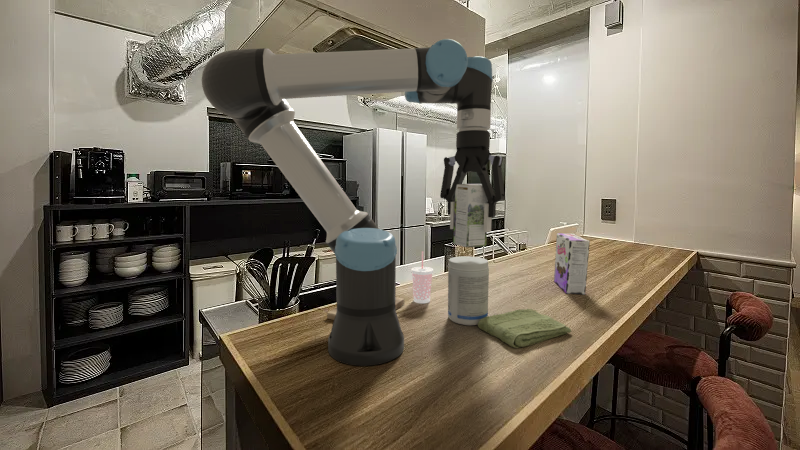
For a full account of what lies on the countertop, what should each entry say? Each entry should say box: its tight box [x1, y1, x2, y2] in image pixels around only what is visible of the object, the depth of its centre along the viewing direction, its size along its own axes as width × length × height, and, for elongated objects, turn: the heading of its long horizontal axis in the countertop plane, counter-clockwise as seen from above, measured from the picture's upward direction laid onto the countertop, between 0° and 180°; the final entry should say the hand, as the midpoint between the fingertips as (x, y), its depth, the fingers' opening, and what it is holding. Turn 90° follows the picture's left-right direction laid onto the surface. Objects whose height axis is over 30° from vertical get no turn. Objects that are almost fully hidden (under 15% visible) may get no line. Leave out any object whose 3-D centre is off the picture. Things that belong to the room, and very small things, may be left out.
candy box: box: [553, 232, 591, 296], centre depth 115 cm, size 14×6×16 cm, turn 172°
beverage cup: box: [410, 250, 434, 304], centre depth 102 cm, size 6×6×14 cm
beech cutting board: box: [326, 296, 405, 321], centre depth 94 cm, size 18×12×2 cm, turn 153°
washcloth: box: [477, 308, 572, 349], centre depth 83 cm, size 13×18×3 cm
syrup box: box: [452, 183, 488, 248], centre depth 86 cm, size 6×6×14 cm
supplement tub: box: [447, 255, 490, 326], centre depth 88 cm, size 10×10×15 cm
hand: (470, 229), depth 87 cm, fingers closed on syrup box, 8 cm apart
